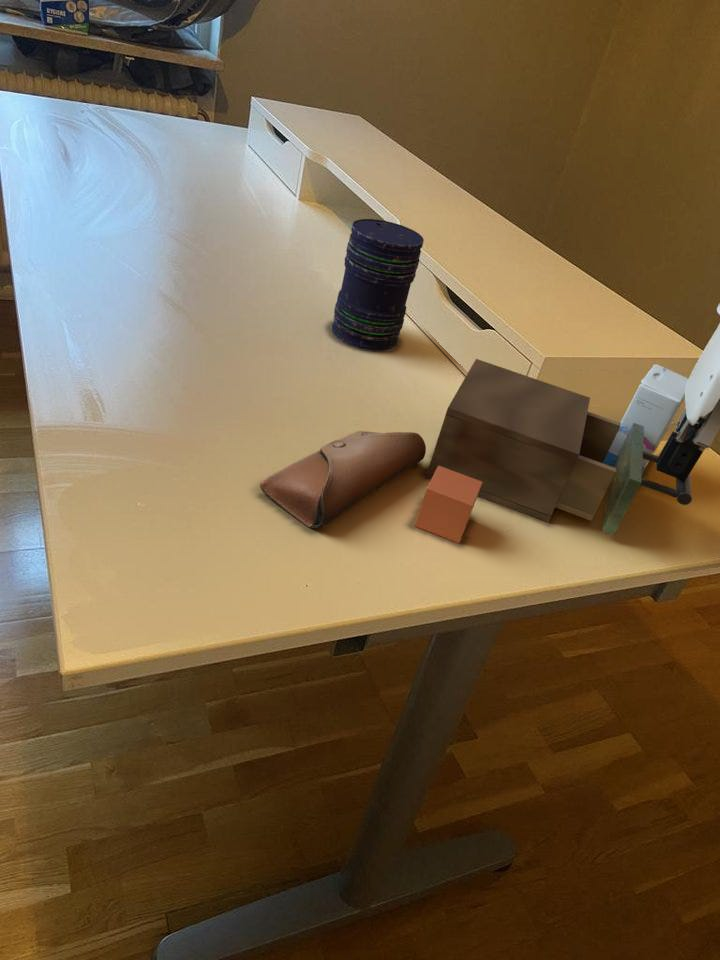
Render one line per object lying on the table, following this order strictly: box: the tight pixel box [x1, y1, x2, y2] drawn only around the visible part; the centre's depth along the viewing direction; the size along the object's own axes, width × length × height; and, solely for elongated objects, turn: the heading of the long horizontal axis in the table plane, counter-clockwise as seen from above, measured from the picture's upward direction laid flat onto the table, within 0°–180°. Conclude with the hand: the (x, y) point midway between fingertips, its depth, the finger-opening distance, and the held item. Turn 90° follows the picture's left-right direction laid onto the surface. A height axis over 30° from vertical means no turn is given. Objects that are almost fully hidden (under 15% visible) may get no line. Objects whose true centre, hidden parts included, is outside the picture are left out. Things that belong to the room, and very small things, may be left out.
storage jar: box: [331, 218, 425, 352], centre depth 101 cm, size 10×10×15 cm
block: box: [414, 466, 483, 544], centre depth 72 cm, size 5×5×5 cm
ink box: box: [603, 364, 689, 474], centre depth 87 cm, size 9×5×12 cm, turn 148°
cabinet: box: [425, 358, 591, 523], centre depth 81 cm, size 14×14×9 cm
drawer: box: [555, 411, 693, 536], centre depth 79 cm, size 18×13×7 cm
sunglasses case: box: [259, 430, 427, 529], centre depth 74 cm, size 18×7×7 cm, turn 144°
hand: (669, 471), depth 77 cm, fingers closed
